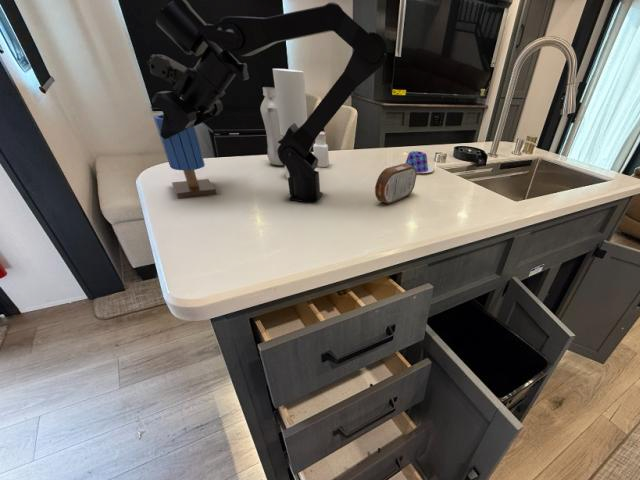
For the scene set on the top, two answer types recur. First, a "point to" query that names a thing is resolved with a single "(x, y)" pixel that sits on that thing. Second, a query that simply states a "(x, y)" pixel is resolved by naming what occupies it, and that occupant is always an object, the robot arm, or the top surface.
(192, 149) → the blue ribbed vase
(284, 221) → the top surface
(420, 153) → the blue checkered hat
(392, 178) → the tin
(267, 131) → the plastic bottle
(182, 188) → the stand
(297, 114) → the cylindrical container
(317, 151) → the pepper shaker
